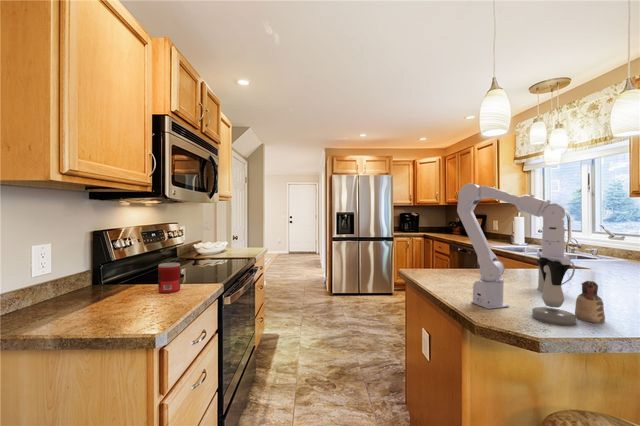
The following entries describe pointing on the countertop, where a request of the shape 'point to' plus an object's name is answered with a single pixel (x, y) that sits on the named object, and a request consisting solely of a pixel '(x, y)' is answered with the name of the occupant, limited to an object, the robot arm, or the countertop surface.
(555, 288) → the salt shaker
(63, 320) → the countertop surface
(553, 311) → the coaster
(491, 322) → the countertop surface
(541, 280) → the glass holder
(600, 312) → the figurine
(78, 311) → the countertop surface
